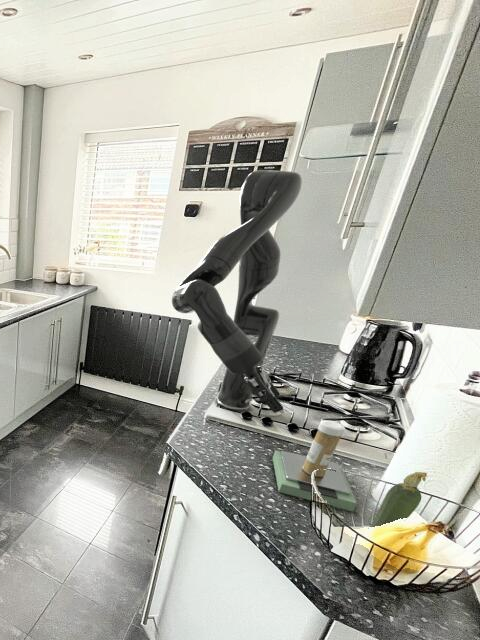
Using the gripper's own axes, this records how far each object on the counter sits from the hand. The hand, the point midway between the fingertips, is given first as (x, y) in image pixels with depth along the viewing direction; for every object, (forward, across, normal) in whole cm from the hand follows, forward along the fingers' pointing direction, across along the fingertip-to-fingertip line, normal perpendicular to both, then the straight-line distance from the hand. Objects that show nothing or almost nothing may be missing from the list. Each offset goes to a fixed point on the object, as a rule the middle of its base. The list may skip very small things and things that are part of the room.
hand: (277, 403), depth 101 cm
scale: (+22, 0, +5) cm, 22 cm away
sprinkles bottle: (+20, 0, +3) cm, 20 cm away
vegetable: (+28, -20, 0) cm, 34 cm away
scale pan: (+20, +1, +4) cm, 20 cm away
